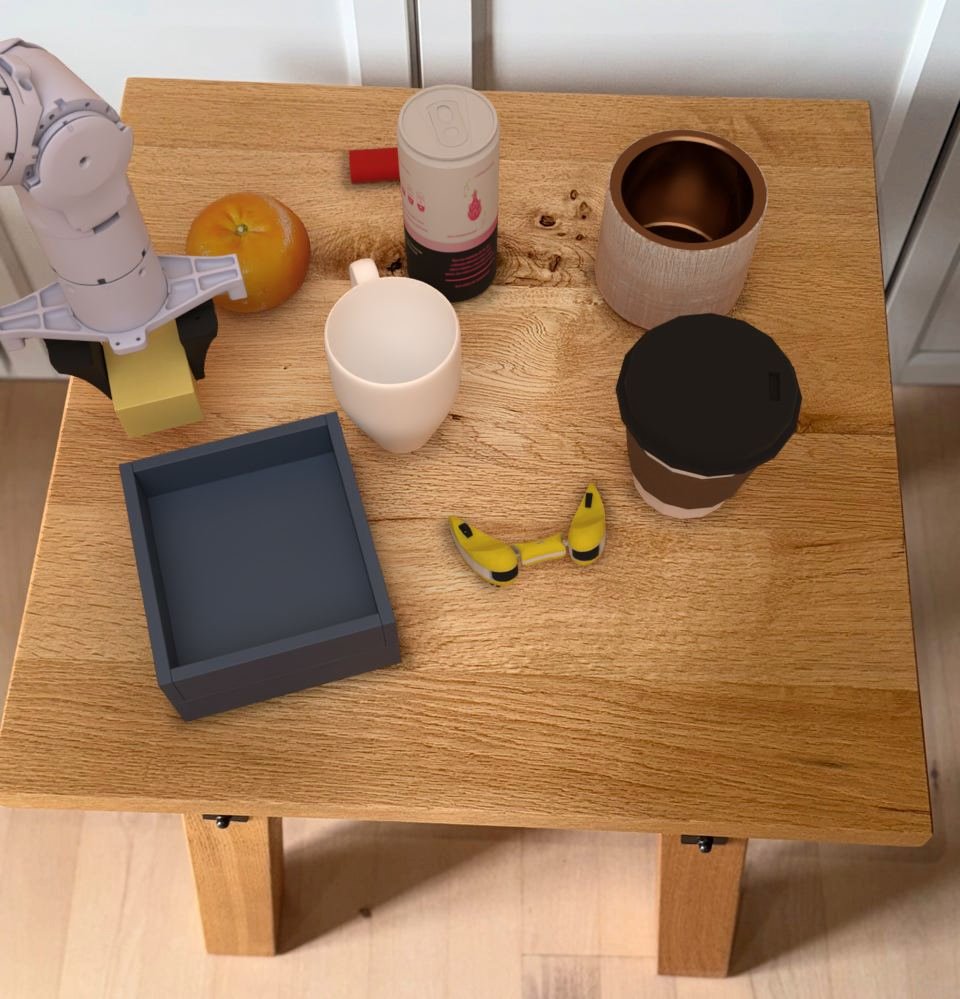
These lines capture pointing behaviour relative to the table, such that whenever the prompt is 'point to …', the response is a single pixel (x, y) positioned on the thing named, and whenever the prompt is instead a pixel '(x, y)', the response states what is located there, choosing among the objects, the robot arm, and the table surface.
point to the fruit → (254, 247)
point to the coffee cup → (704, 410)
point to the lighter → (374, 165)
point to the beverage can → (450, 189)
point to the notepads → (154, 384)
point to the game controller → (533, 544)
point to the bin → (257, 567)
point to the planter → (678, 226)
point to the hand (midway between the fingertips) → (155, 377)
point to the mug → (393, 357)
